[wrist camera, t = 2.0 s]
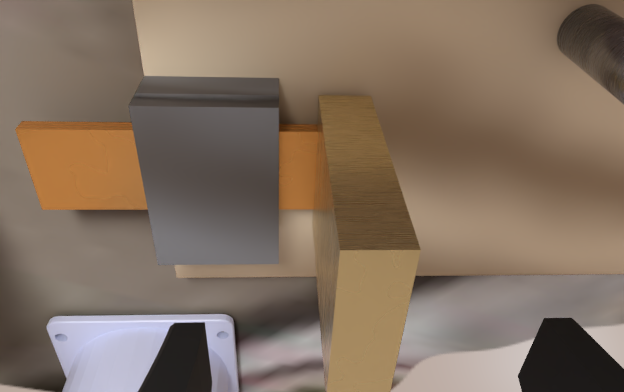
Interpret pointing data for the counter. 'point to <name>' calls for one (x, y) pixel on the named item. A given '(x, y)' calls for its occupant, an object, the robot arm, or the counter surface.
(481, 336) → the counter surface
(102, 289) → the counter surface
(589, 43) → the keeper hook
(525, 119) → the strap board
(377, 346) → the tan wooden block
